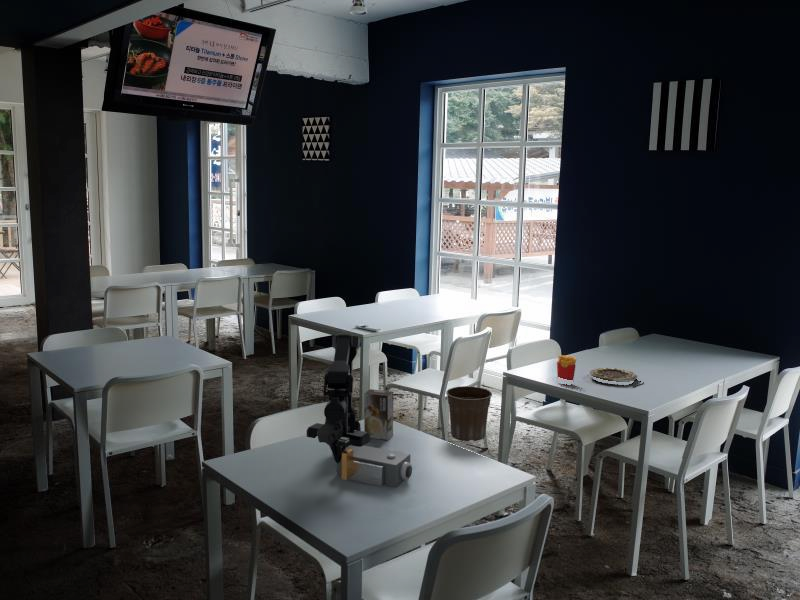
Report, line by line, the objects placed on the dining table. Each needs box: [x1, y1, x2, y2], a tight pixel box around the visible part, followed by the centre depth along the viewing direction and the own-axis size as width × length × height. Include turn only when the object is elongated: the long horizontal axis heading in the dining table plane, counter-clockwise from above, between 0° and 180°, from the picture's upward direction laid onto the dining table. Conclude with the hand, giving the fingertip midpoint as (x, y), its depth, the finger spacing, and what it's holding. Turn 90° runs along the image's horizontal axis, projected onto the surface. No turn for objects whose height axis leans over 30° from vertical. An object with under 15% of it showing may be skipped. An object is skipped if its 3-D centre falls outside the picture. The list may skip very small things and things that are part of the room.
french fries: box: [556, 354, 577, 381], centre depth 327 cm, size 9×4×13 cm, turn 43°
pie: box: [589, 367, 638, 382], centre depth 335 cm, size 28×27×5 cm
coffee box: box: [363, 388, 394, 441], centre depth 251 cm, size 9×6×16 cm
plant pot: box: [445, 385, 493, 442], centre depth 253 cm, size 16×16×16 cm
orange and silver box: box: [341, 449, 384, 487], centre depth 208 cm, size 11×5×10 cm, turn 65°
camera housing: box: [335, 445, 413, 489], centre depth 215 cm, size 22×10×8 cm, turn 65°
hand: (337, 462), depth 210 cm, fingers closed
